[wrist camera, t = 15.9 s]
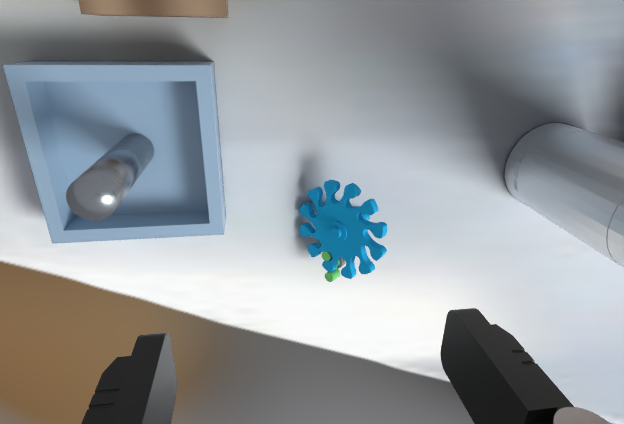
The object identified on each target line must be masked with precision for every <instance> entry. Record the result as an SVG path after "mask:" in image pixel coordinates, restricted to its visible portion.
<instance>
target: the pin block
mask: <svg viewBox="0 0 624 424" xmlns="http://www.w3.org/2000/svg"><path fill="white" fill-rule="evenodd" d="M79 5H80V10H81V14H89V15H102V16H154V17H211V18H228V6H227V0H79Z"/></svg>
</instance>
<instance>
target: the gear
mask: <svg viewBox="0 0 624 424" xmlns="http://www.w3.org/2000/svg"><path fill="white" fill-rule="evenodd" d="M324 188H325V191H326V203H325V205H324V204H323V203H322V195H323V191H322V189H321V188H320V187H317V188H315V189H312V190H310V191H308V192H307V193H308V197H309V198H310V199H311V200H312V202H313V203H314V205H315V207H316V211H317V215H315V213H314V210H313V206H312V205H311V203H309V202H307V203H305V204H303V205H302V206H301V208H300V210H299V213H300V214H301V215H302V216H304V217H306V218H308V219H309V220H310V221H311V222H312V223H313V225H314V226H315V228H316V230H314V228H313V227H312V226H311V224H309V223H304V224H302V225H301V226H300V235H301V236H303V237H306V236H311V237H314V238H316V239H317V240H319V241H320V243H321V245H319V244H318V243H313V244H311V245H310V246H308V250H309V253H310V255H311V257H316V256H317V255H319V254H320V253H321V252H323V253H322V258H323V259H324V260H325V261H324V262H323V264H322V265H323V267H324V268H325V269H326V270H327V271H328V272H327V273H326V274H325V278H326V280H327V281H329V282H332V281H333V280H334V279H336V278H337V277H339V276H340V271H339V270H338V269H337V268H340V267H342V266H343V265H344V264H345V262H346V263H347V264H346V266H345V267H344V268H343V269H342V270H341V274H342V276H344V277H346V278H349V279H351V278H353V277H354V276H355V275H356V269H355V265H354V259H355V256H357V257H359V259H360V265H359V271H360V273H361V274H368V273H370V272H372V271H373V270H374V269H375V266H374V264H373V263H372V262H371V261H370V259H369V258H368V256H367V254H366V249H365V245H366V246H368V247H369V249H370V253H371V256H372V258H373V259H374V260H376V261H377V260H379V259H380V258H381V257H382V256H383V255H384V254H385V253H386V251H387V250H386V248H385V247H384V246H382V245H380V244H378V243H376V242H375V241H374V240H373V239H372V238H371V237H370V235H369V234H368V232H367V229H369V230H370V231H371V232H372V233H373V235H374V236H375V237H377V238H382V237H384V236H385V235H386V233H387V224H386V223H384V222H379V223H372V222H369V221H367V220H368V219H369V218H370V215H372V214H374V213H375V212H377V211H378V206H377V204H376V202H375V200H374V199H370V200H368V201H366V202H364V203H363V205H362V206H359V207H353V206H352V205H351V204H350V202H349V199H350V198H354V197H356V196H358V195H360V193H361V190H360V188H359V187H358V186H357V185H355V184H354V183H351V184H349V185H347V186H346V187H345V189H344V195H343V197H342V199H341V200H340V201H337V200H336V199H335V193H336V192H337V191H338V190H339V188H340V183H339V182H338V181H335V180H329V181H326V182H325V183H324Z"/></svg>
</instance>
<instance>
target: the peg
mask: <svg viewBox="0 0 624 424" xmlns="http://www.w3.org/2000/svg"><path fill="white" fill-rule="evenodd" d="M153 156H154V146H153V144H152V142H151V141H150V140H149V139H148V138H147V137H145V136H144V135H141V134H137V133H133V134H129V135H126V136H125V137H124V138H122V139H121V140H120V141H119V142H118V143H117V144H116V145H114V146H113V147H112V148H111V149H110V150H109V151H108V152H106V153H105V154H104V155H103V156H102V157H101V158H100V159H99V160H97V161H96V162H95V163H94V164H93V165H92V166H91V167H89V168H88V169H87V170H86V171H85V172H84V173H83V174H81V175H80V176H79V177H78V178H77V179H76V180H75V181H73V182H72V183H71V184H70V185H69V187H68V189H67V192H66V200H67V203H68V205H69V207H70V209H71V210H72V211H73V212H74V213H75V214H76V215H78V216H79V217H81V218H84V219H87V220H92V221H98V220H103V219H105V218H107V217H109V216H110V215H111V214H112V213H113V212H114V210H115V209H116V208H117V206H118V205H119V204H120V202H121V201H122V200H123V198H124V197H125V195H126V194H127V193H128V191H129V190H130V189H131V187H132V186H133V185H134V183H135V182H136V180H137V179H138V178H139V176H140V175H141V174H142V172H143V171H144V170H145V168H146V167H147V166H148V164H149V163H150V161H151V160H152V159H153Z"/></svg>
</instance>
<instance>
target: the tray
mask: <svg viewBox="0 0 624 424" xmlns="http://www.w3.org/2000/svg"><path fill="white" fill-rule="evenodd" d="M3 68H4V71H5V75H6V78H7V82H8V86H9V89H10V93H11V96H12V100H13V104H14V107H15V111H16V115H17V118H18V122H19V125H20V129H21V133H22V136H23V140H24V143H25V147H26V151H27V154H28V158H29V161H30V165H31V169H32V172H33V176H34V180H35V183H36V187H37V190H38V194H39V198H40V201H41V205H42V208H43V212H44V216H45V219H46V223H47V226H48V230H49V234H50V237H51V241H52V243H70V242H89V241H108V240H127V239H146V238H165V237H184V236H203V235H222V234H224V230H225V221H226V211H225V199H224V186H223V174H222V161H221V148H220V136H219V123H218V110H217V98H216V85H215V73H214V62H198V61H25V62H19V63H12V64H6V65H3ZM133 133H137V134H141V135H144V136H145V137H147V138H148V139H149V140H150V141H151V142H152V144H153V146H154V156H153V159H152V160H151V161H150V163H149V164H148V166H147V167H146V168H145V170H144V171H143V172H142V174H141V175H140V176H139V178H138V179H137V180H136V182H135V183H134V185H133V186H132V187H131V189H130V190H129V191H128V193H127V194H126V195H125V197H124V198H123V200H122V201H121V202H120V204H119V205H118V206H117V208H116V209H115V210H114V212H113V213H112V214H111V215H110V216H109V217H107V218H105V219H103V220H98V221H92V220H87V219H84V218H81V217H79V216H78V215H76V214H75V213H74V212H73V211H72V210H71V209H70V207H69V205H68V203H67V200H66V192H67V189H68V187H69V185H70V184H71V183H72V182H73V181H75V180H76V179H77V178H78V177H79V176H80V175H81V174H83V173H84V172H85V171H86V170H87V169H88V168H89V167H91V166H92V165H93V164H94V163H95V162H96V161H97V160H99V159H100V158H101V157H102V156H103V155H104V154H105V153H106V152H108V151H109V150H110V149H111V148H112V147H113V146H114V145H116V144H117V143H118V142H119V141H120V140H121V139H122V138H124V137H125V136H126V135H129V134H133Z"/></svg>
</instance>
